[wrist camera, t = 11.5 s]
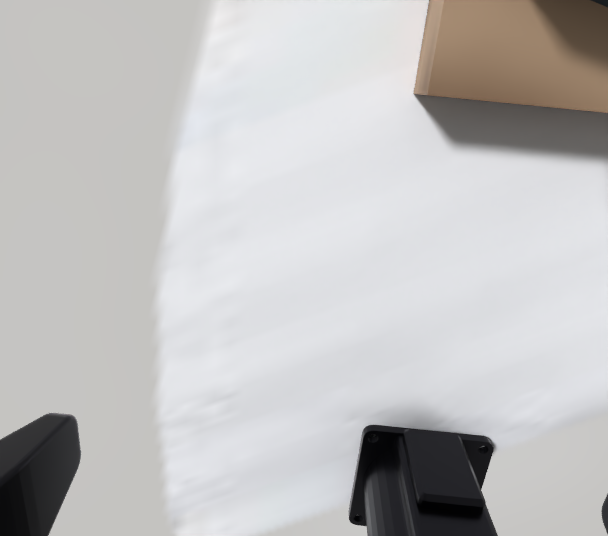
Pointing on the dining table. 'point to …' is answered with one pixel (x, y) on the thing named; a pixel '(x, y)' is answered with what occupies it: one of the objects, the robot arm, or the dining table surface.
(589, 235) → the dining table surface
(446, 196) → the dining table surface
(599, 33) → the plinth
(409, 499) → the robot arm
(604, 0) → the watch
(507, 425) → the dining table surface
